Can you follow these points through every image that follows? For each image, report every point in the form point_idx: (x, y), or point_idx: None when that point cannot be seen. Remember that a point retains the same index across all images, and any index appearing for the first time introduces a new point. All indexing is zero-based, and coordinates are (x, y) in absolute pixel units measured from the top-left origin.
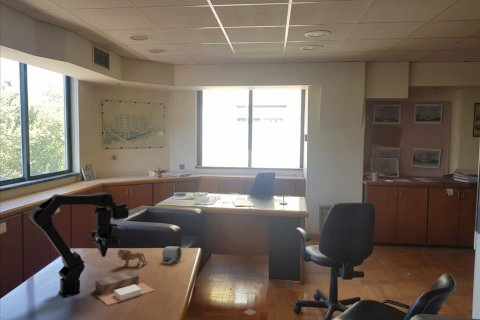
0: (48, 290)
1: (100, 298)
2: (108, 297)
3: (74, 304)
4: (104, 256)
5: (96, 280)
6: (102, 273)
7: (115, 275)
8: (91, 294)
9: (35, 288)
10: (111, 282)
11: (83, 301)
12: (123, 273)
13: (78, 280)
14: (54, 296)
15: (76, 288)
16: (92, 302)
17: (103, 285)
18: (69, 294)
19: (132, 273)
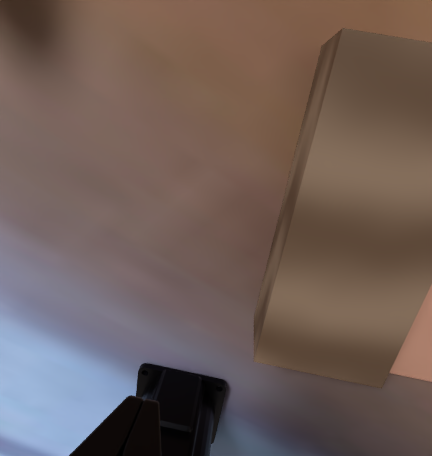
0: (80, 428)
1: (395, 373)
2: (429, 344)
3: (322, 450)
4: (157, 411)
5: (261, 359)
6: (20, 128)
7: (297, 217)
8: None
9: (21, 441)
10: (397, 325)
11: (332, 419)
12: (323, 136)
13: (193, 440)
14: None
15: (204, 408)
16: (384, 406)
17: (384, 381)
18: (215, 425)
19: (414, 66)
